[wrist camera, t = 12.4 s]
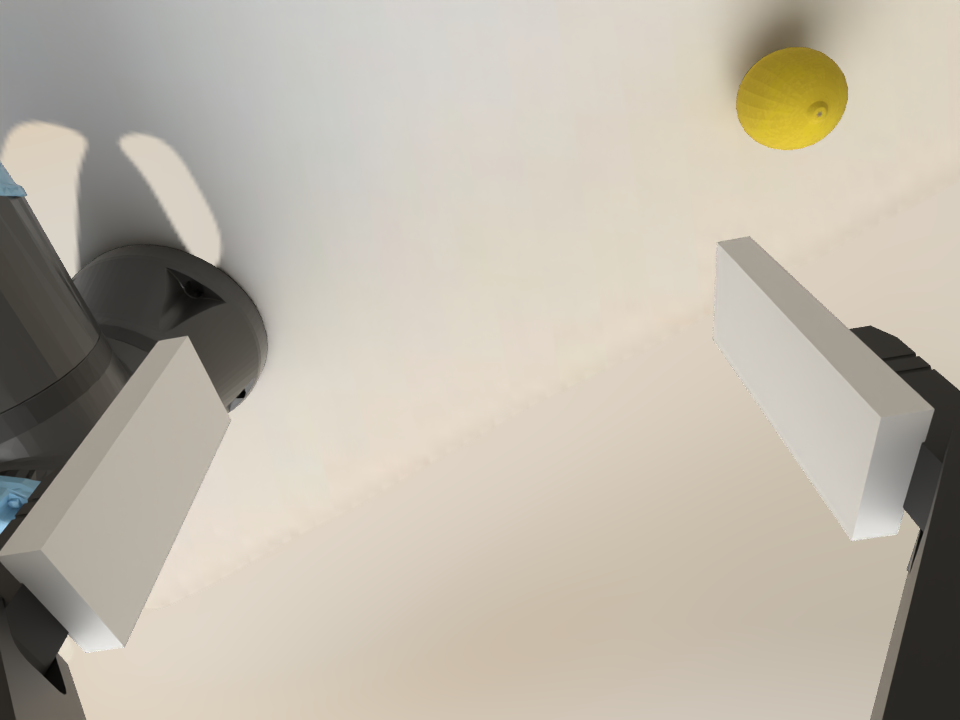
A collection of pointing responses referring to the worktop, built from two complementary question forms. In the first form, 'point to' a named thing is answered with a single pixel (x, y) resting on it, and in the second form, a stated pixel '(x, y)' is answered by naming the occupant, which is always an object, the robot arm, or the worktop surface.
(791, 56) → the lemon
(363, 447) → the worktop surface
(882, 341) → the robot arm
